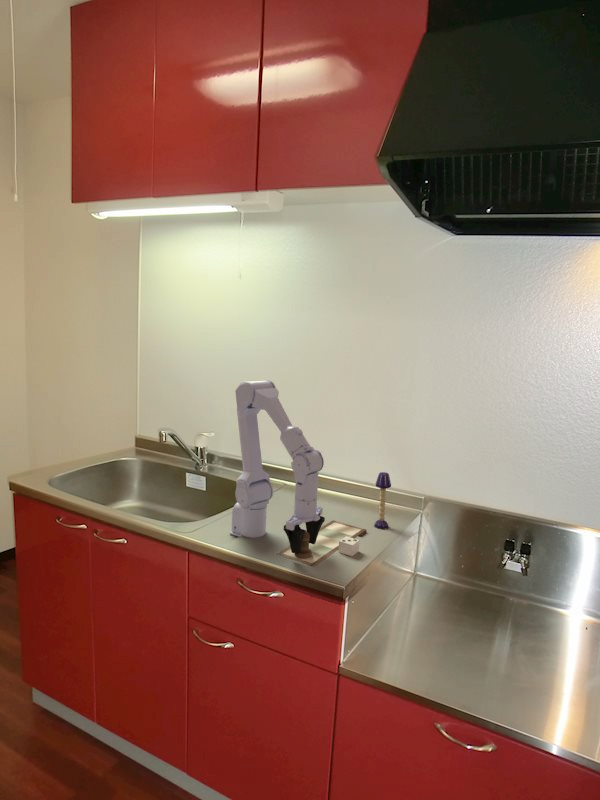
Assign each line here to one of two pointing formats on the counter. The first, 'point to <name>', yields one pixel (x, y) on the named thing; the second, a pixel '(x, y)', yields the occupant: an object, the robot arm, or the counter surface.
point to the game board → (325, 542)
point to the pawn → (305, 547)
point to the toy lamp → (382, 498)
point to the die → (348, 546)
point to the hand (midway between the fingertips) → (303, 547)
